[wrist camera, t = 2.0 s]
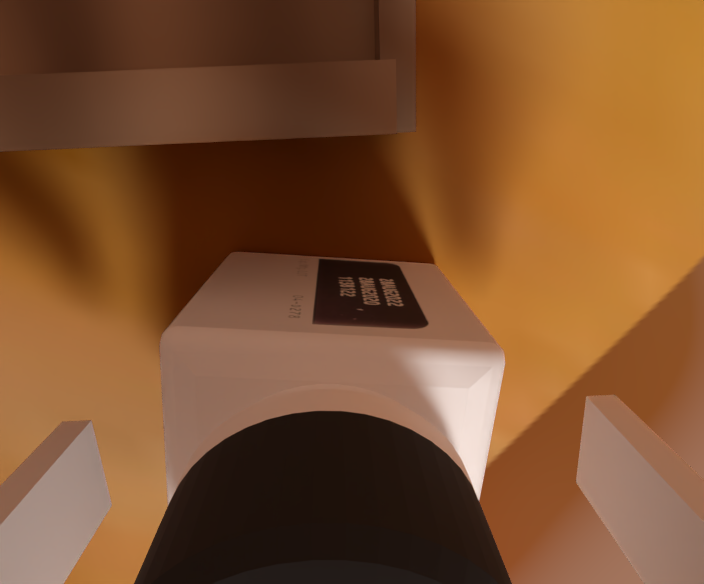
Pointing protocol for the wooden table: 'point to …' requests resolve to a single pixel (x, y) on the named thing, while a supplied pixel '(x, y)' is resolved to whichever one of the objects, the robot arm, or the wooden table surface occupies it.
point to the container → (326, 428)
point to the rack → (203, 71)
